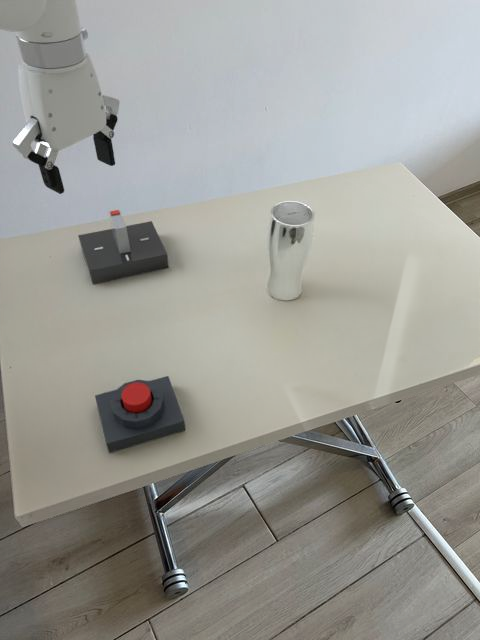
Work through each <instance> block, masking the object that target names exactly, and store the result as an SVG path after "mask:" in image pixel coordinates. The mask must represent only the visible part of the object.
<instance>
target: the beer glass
mask: <svg viewBox="0 0 480 640" xmlns="http://www.w3.org/2000/svg"><path fill="white" fill-rule="evenodd" d="M314 230H315V212H314V209H313V208H312V207H311V206H309V205H308V204H306V203H304V202H301V201H299V200H298V201H297V200H282V201H280V202H277V203H275V204H274V205H273V206H271V208H270V215H269V220H268V227H267V238H266V239H267V241H266V243H267V253H268V261H269V275H268V279H267V282H266V291H267V293H268V295H269V296H271V297H272V298H274V299H275V300H279V301H284V302H286V301H293V300H295V299H296V300H297V299H298V298H300V296H301V295H302V293H303V281H302V277H303V273H304V269H305V266H306V263H307V261H308V258H309V255H310V251H311V249H312V244H313V237H314Z"/></svg>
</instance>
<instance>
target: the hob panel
mask: <svg viewBox="0 0 480 640" xmlns="http://www.w3.org/2000/svg"><path fill="white" fill-rule="evenodd" d="M126 228H127V233H128V239H129V245H130V252H126V253H121V254H120V252H119V250H118V247H117V244H116V242H115V239H114V236H113V231H112V228H108V229H104V230H98V231H92V232H88V233H83V234H78V241H79V245H80V249H81V252H82V255H83V258H84V261H85V264H86V268H87V271H88V274H89V277H90V280H91V281H90V282H91V284H92V285H96V284H100V283H105V282H106V283H107V282H109V281H110V282H111V281H115V280H119V279H123V278H127V277H133V276H137V275H141V274H146V273H150V272H154V271H155V272H156V271H160V270H164V269H168V268H169V267H170V266H169V259H168V253H167V251H166V249H165V246H164V244H163V243H162V240H161V238H160V236H159V234H158V232H157V231H158V230H157V229H156V227H155V225H154V223H153V221H152V220H150V221H146V222H139V223H135V224H130V225H126Z"/></svg>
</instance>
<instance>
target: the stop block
mask: <svg viewBox="0 0 480 640" xmlns="http://www.w3.org/2000/svg"><path fill="white" fill-rule="evenodd" d="M132 383H143V384H145V385H147V386H148V387H149V389H150V393H151V398H152V402H151V405H150V406H149V408H148V409H146V410H145V411H143V412H140V413H132V412H129V411H128V410H126V409H125V407H124V405H123V401H122V397H121V394H122V391H123V389H124V388H125V387H126V386H128V385H129V384H132ZM94 398H95V402H96V406H97V411H98V414H99V419H100V422H101V427H102V431H103V435H104V440H105V443H106V447H107V451H108V453H109V454H111V453H115V452H117V451H118V452H119V451H121V450H124V449H128V448H131V447H134V446H137V445H141V444H144V443H147V442H151V441H155V440H157V439H161V438H164V437H168V436H171V435H175V434H177V433H181V432H184V431H186V423H185V419H184V415H183V413H182V410H181V408H180V405H179V402H178V399H177V396H176V394H175V390H174V388H173V385H172V383H171V378H170V377H169V375H166V376H162V377H158V378H155V379H151V380H143V379H135V380H132V381H127V382H124V383H123V384H122V385H121V386H119V387H118V388H117V389H114V390H113V389H112V390H110V391H106V392H102V393H98V394H95V395H94Z"/></svg>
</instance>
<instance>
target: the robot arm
mask: <svg viewBox="0 0 480 640" xmlns="http://www.w3.org/2000/svg"><path fill="white" fill-rule="evenodd" d="M80 23H81V22H80V18H79V12H78V5H77V0H0V30H2V31H5V32H8V33H9V32H10V33H11V32H12V33H15V38H16V40H17V45H18V48H19V52H20V56H21V59H22V62H21V63H20V64H18V65H17V76H18V88H19V93H20V94H19V96H20V100H21V106H22V111H23V116H24V120H25V125H24V126H23V128H22V129H21V131H20V132H19V133H18V134H17V135H16V136H15V138H14V139H13V141H12V146H13V148H15V149H16V150H17V152H19V153H20V155H22V156H23V158H24V159H26V160H28V161H29V162H33V163H34V164H36V165H38V169H39V172H40V174H41V178H42V183H43V184H44V186H45V187H46V188H47V189H49V190H51V191H54V192H56V193H57V194H59V195H62V194H63V193H65V186H64V184H63V180H62V175H61V171H60V168H59V167H58V166H57V165H55V162H56V161H57V160H56V159H57V157H58V154H59V151H62V150H65V149H66V148H69V147H71V146H73V145H75V144H77V143H79V142H81V141H83V140H85V139H87V138H89V137H91V136H92V139H93V145H94V148H95V154H96V158H97V159H96V160H98V161H99V162H101V163H103V164H106V165H108V166H110V167H113V166H115V165H116V159H115V151H114V146H113V141H112V139H114V138H115V131H114V130H115V127H116V125H117V123H118V120H119V119H118V114H119V110H120V109H119V108H120V104H121V103H120V100H119V99H117V98H116V97H115V98H114V97H113V96H109V95H105V94H103V93H102V90H101V86H100V82H99V79H98V75H97V72H96V70H95V66H94V64H93V62H92V59H91V57H90V55H89V54H88V53H87V52H86V47H85V43H84V41H85V40H88V38H89V33H88V31H87V29H86V28H85V27H81V24H80ZM33 142H36V145H35V149H33V148H32V146H31V145H32V143H33ZM46 151H47V152H46Z"/></svg>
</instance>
